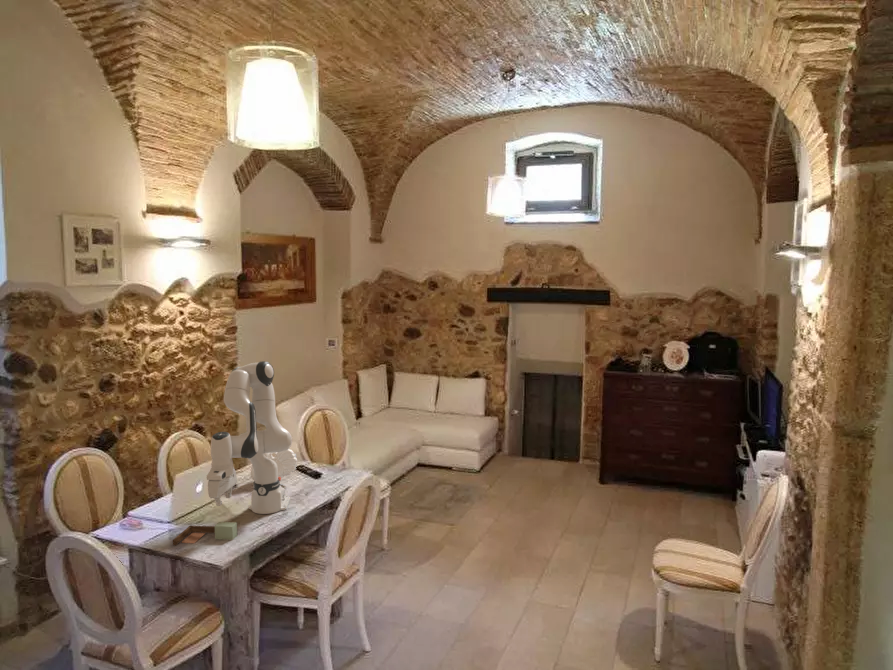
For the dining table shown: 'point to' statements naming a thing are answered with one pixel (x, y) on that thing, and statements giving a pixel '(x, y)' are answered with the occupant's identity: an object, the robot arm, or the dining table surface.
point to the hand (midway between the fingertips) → (224, 501)
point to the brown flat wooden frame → (193, 534)
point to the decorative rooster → (282, 462)
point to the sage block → (226, 530)
